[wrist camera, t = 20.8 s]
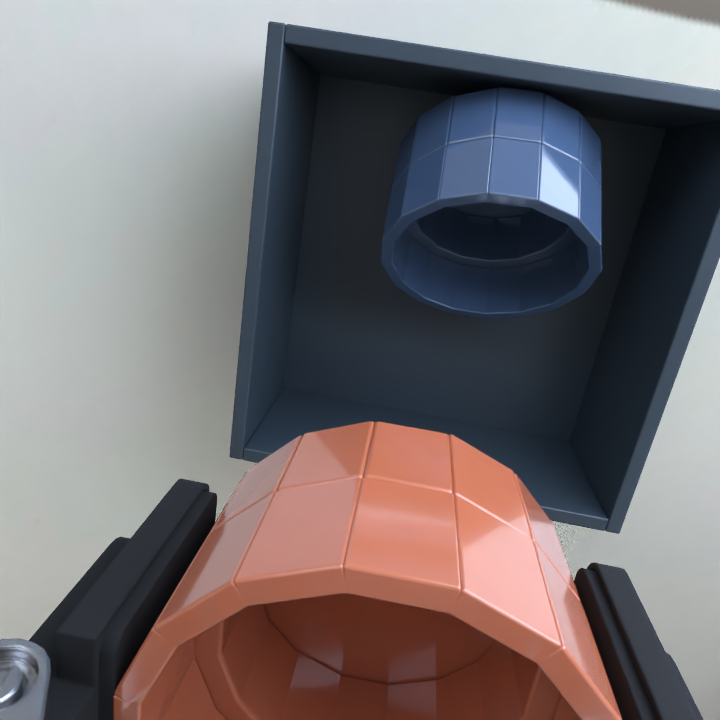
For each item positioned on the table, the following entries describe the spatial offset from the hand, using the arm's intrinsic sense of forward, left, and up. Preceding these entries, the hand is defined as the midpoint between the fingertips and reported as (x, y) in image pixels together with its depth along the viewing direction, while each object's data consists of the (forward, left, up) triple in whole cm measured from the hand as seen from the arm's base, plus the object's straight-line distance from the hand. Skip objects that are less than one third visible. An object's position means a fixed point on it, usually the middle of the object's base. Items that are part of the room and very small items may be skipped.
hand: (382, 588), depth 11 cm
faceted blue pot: (-5, +7, -13) cm, 15 cm away
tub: (-2, +4, -15) cm, 16 cm away
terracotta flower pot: (0, 0, -1) cm, 1 cm away
